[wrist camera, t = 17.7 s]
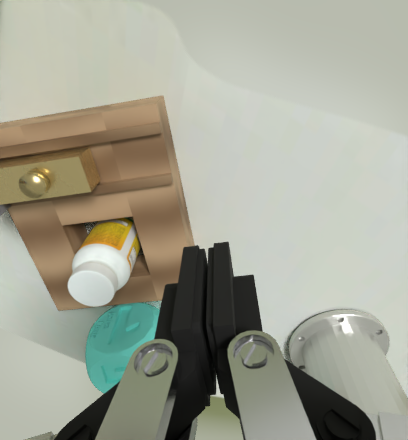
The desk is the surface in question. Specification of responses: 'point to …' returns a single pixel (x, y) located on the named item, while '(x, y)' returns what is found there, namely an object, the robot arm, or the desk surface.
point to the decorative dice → (118, 341)
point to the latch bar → (47, 176)
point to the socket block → (105, 194)
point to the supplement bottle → (104, 261)
